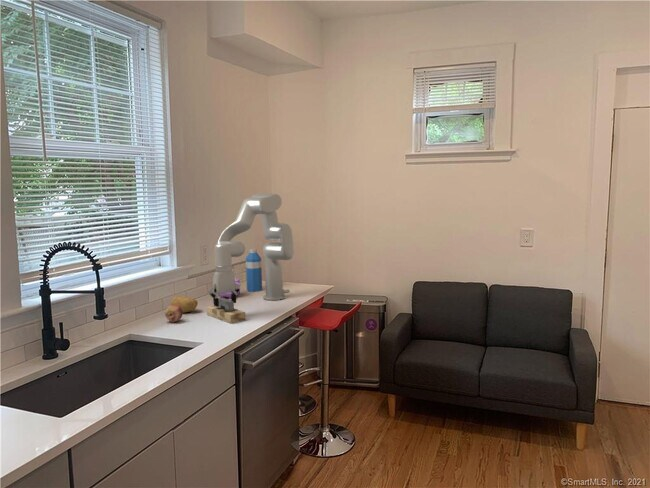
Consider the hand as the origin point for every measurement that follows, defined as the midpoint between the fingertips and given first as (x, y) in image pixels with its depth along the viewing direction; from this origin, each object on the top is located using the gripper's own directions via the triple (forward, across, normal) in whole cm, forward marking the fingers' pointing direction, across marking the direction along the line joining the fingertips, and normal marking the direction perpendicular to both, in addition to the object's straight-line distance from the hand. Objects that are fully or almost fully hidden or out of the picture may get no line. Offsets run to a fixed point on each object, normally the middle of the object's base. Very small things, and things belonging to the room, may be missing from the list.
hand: (225, 304), depth 238 cm
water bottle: (+7, -46, -43) cm, 63 cm away
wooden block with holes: (+6, 0, 0) cm, 6 cm away
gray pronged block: (+6, 0, 0) cm, 6 cm away
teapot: (+7, -25, -38) cm, 46 cm away
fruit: (+7, +21, -11) cm, 25 cm away
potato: (+7, +9, -24) cm, 27 cm away
